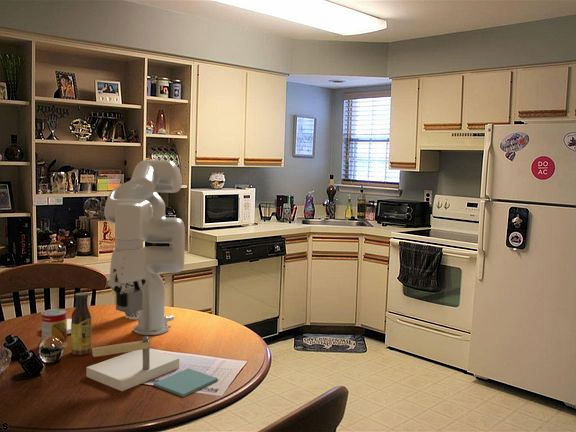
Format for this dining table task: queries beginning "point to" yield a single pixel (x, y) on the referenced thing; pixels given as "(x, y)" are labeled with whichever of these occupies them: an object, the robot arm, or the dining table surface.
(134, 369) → the white slab
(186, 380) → the mat
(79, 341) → the sauce bottle
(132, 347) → the lever
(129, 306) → the grey stone cube
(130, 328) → the dining table surface
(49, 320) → the canned food
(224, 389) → the dining table surface
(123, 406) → the dining table surface
